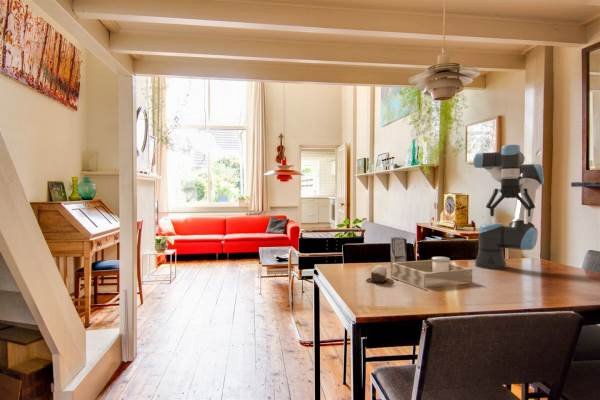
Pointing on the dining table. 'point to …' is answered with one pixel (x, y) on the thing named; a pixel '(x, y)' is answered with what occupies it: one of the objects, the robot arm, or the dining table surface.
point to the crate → (430, 274)
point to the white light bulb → (440, 264)
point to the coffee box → (398, 249)
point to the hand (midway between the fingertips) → (509, 223)
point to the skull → (379, 276)
